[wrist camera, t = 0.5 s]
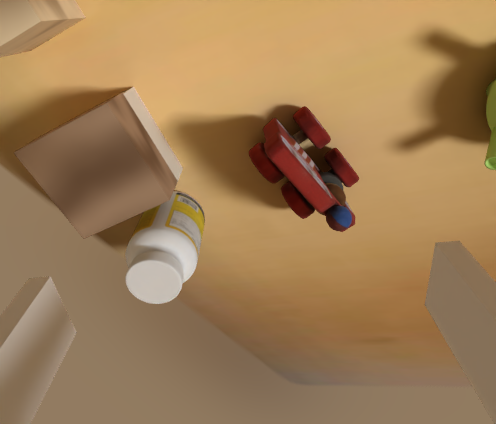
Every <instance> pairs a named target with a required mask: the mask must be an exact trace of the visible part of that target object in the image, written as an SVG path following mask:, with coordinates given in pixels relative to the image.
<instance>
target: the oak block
mask: <svg viewBox="0 0 496 424" xmlns="http://www.w3.org/2000/svg"><path fill="white" fill-rule="evenodd" d="M84 18H86V17H85V15H84V14H83V12H82V11H81V9H80V7H79V6H78V4H77V2H76V1H75V0H0V57H3V56H8V55H13V54H18V53H22V52H27V51H31V50H33V49H35V48H36V47H38V46H40V45H41V44H43V43H45V42H46V41H48V40H50V39H51V38H53V37H55V36H56V35H58V34H60V33H61V32H63V31H65V30H66V29H68V28H70V27H71V26H73V25H75V24H76V23H78V22H79V21H81V20H83V19H84Z"/></svg>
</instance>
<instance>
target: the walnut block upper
mask: <svg viewBox="0 0 496 424" xmlns="http://www.w3.org/2000/svg"><path fill="white" fill-rule="evenodd" d="M14 154H15V155H16V157H17V158H18V159H19V160H20V162H21V163H22V164H23V165H24V166H25V168H26V169H27V170H28V171H29V173H30V174H31V175H32V176H33V177H34V179H35V180H36V181H37V182H38V184H39V185H40V186H41V187H42V188H43V190H44V191H45V192H46V193H47V195H48V196H49V197H50V198H51V199H52V201H53V202H54V203H55V204H56V206H57V207H58V208H59V209H60V210H61V212H62V213H63V214H64V215H65V217H66V218H67V219H68V220H69V221H70V223H71V224H72V225H73V226H74V227H75V229H76V230H77V231H78V232H79V233H80V235H81V236H82V237H83V238H84V239H85V238H87V237H89V236H92V235H94V234H96V233H98V232H100V231H103V230H105V229H107V228H109V227H112V226H114V225H116V224H118V223H120V222H123V221H125V220H127V219H129V218H131V217H134V216H136V215H138V214H140V213H143V212H145V211H147V210H149V209H151V208H154V207H156V206H158V205H160V204H162V203H165V202H167V201H169V200H170V199H171V196H172V194H173V191H174V189H175V186H176V184H177V179H176V178H175V176H174V174H173V173H172V171H171V170H170V168H169V166H168V165H167V163H166V162H165V160H164V158H163V157H162V155H161V154H160V152H159V150H158V149H157V147H156V146H155V144H154V142H153V141H152V139H151V137H150V136H149V134H148V133H147V131H146V129H145V128H144V126H143V125H142V123H141V121H140V120H139V118H138V117H137V115H136V113H135V112H134V110H133V109H132V107H131V105H130V104H129V102H128V101H127V99H126V97H125V96H124V94H123V93H120V94H118V95H116V96H114V97H113V98H111V99H109V100H107V101H105V102H103V103H101V104H100V105H98V106H96V107H94V108H92V109H90V110H88V111H87V112H85V113H83V114H81V115H79V116H77V117H75V118H74V119H72V120H70V121H68V122H66V123H64V124H62V125H61V126H59V127H57V128H55V129H53V130H51V131H49V132H47V133H46V134H44V135H42V136H40V137H38V138H37V139H35V140H33V141H32V142H30V143H29V144H27V145H25V146H24V147H22V148H21V149H19V150H17V151H16V152H14Z"/></svg>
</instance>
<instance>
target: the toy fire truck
mask: <svg viewBox="0 0 496 424" xmlns="http://www.w3.org/2000/svg"><path fill="white" fill-rule="evenodd" d="M293 118H294V120H295V122H296V123H297V124H298V125H299V127H300V129H301V130H300V131H298V132H297V133H296V134H294V135H293V136H292V135H291V134H290V133H289V132H288V131H287V130H286V129H285V128H284V126H283V125H282V124H281V123H280V122H279V121H278V120H277V119H276V118H273V119H272V120H271V121H270V122H269V123H268V124H267V125H266V126H265V127H264V128H263V131H264V135H265V139H266V142H265V143H264V144H263V143H261V142H260V143H258V144H256V145H255V146H254V147H253V148H252V149H250V151H249V156H250V158H251V160H252V162H253V164H254V165H255V167H256V168H257V169H258V171H259V172H260V173H261V174H262V175H263V176H264V177H265V178H266V179H267V180H268V181H270V182H271V183H276V182H278V181H279V180H280V179H282V178H283V177H284V176H286V177H287V178H288V179H289V182H287V183H286V184H285V185H283V186H282V188H281V191H282V195H283V197H284V198H285V200H286V202H287V203H288V205H289V206H290V207H291V209H292V210H293V211H294V212H295V213H296V214H297V215H298V216H299V217H301V218H302V219H304V218H307V217H308V216H309V215H311V214H312V213H313V212H314V211H315V210H316V211H317V212H319V213H320V214H322V215H325V216H326V221H327V223H328V225H329V227H331V228H332V229H333V230H336V231H340V232H343V231H345V230H347V229H348V228H350V227H351V226H353V225H354V224H355V215H354V214H353V212H352V210H351V209H350V207H349V205H348V203H347V202H346V197H345V194H344V191H343V186H342V183H343V184H344V185H345V186H346V187H351V186H352V185H353V184H355V183H356V182H357V181H358V180H359V177H358V175H357V174H356V172H355V171H354V170H353V168H352V167H351V166H350V164H349V163H348V162H347V160H346V159H345V158H344V157H343V155H342V154H341V153H340V152H339V150H338V149H337V148H333V149H331V150H330V151H329V152H328V153H326V154H325V155H324V158H325V160H326V162H327V163H328V164H329V166H330V167H331V169H330V170H329V171H327V172H322V171H321V170H320V169H319V168H318V166H317V165H316V164H315V163H314V162H313V161H312V159H311V158H310V157H309V156H308V155H307V154H306V152H305V151H304V150H303V149H302V148H301V147H300V145H299V144H300V143H302V142H303V141H304V140H306V139H307V138H308V139H309V140H310V141H311V142H312V143H313V144H314V145H315V147H317V148H318V149H321V148H323V147H324V146H325V145H326V144H328V143H329V142H330V140H331V138H330V136H329V135H328V133H327V132H326V130H325V129H324V128H323V127H322V125H321V124H320V123H319V121H318V120H317V119H316V117H315V116H314V115H313V114H312V113H311V111H310V110H309V109H308V108H307V107H305V106H304V107H302V108H301V109H300V110H298V111H297V112H296V113H295V114H294V115H293Z"/></svg>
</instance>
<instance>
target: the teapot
mask: <svg viewBox="0 0 496 424" xmlns="http://www.w3.org/2000/svg"><path fill="white" fill-rule="evenodd" d="M486 95H487V96H488V99H487V104H486V117H487V122H488V125H489V127H490V129H491V131H492V133H491V137H490V142H489V146H488V150H487V155H486V159H485V166H486V167H487V168H489V169H491V170H496V79H495V81H493V82H491V83H490V84H489V85H488V87H487V89H486Z"/></svg>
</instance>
